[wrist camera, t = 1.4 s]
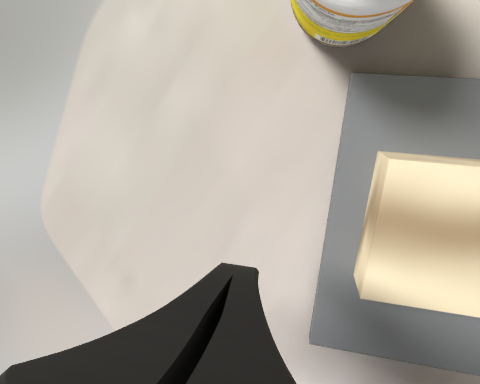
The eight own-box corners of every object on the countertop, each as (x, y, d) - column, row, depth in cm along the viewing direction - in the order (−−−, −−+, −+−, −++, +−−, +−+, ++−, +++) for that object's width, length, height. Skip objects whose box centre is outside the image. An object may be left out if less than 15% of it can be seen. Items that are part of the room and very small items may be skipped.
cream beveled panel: (491, 295, 18) (519, 323, 16) (353, 274, 20) (360, 298, 17) (539, 164, 16) (580, 176, 14) (377, 150, 17) (389, 159, 15)
